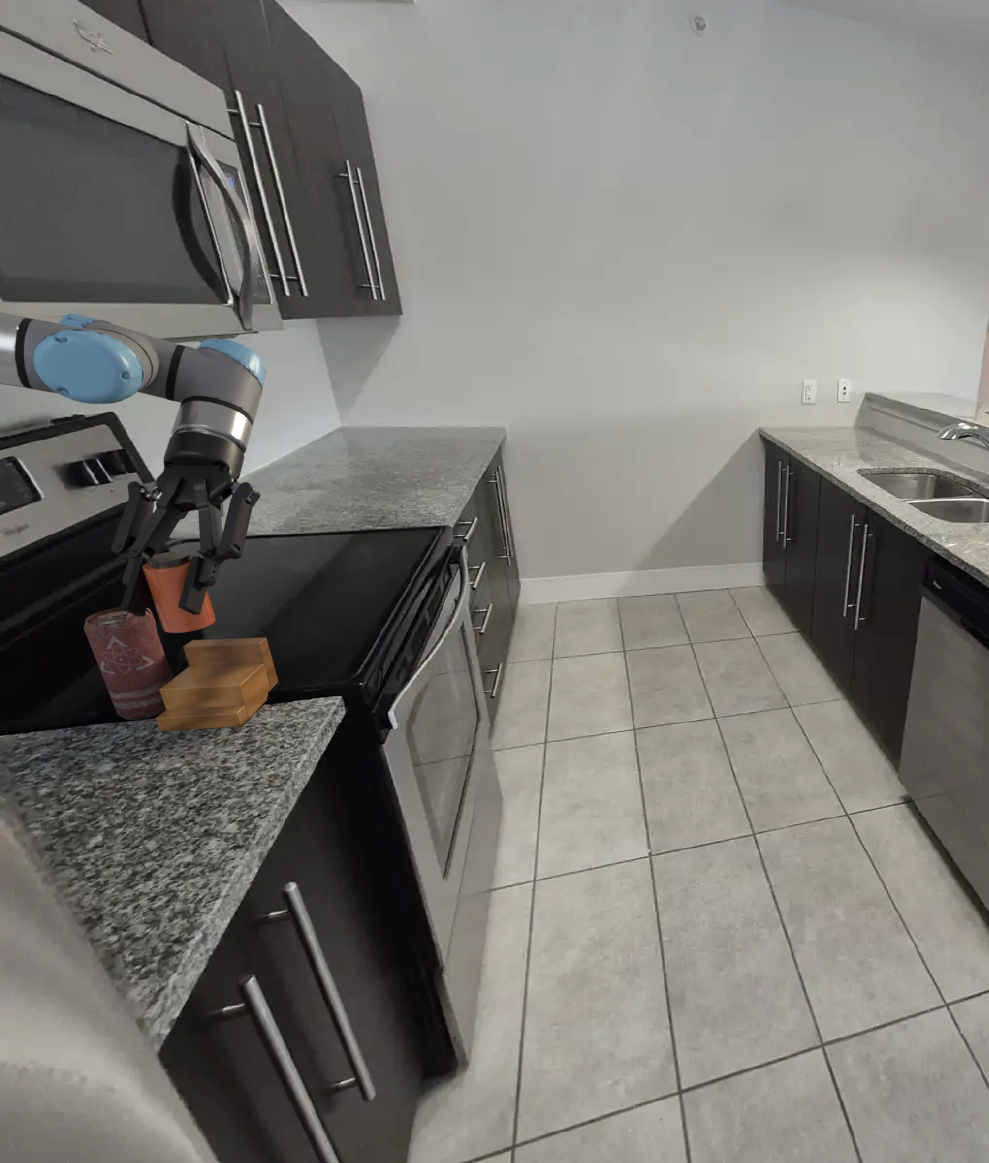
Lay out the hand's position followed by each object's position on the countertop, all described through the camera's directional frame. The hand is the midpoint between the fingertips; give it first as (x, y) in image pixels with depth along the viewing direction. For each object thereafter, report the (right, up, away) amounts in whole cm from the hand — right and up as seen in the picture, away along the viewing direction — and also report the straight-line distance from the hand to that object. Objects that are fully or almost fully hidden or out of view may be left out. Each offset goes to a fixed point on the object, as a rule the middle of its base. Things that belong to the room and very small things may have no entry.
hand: (161, 611), depth 75 cm
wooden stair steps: (-3, -14, +12) cm, 18 cm away
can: (-12, -14, +11) cm, 21 cm away
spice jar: (-1, -2, +5) cm, 5 cm away
